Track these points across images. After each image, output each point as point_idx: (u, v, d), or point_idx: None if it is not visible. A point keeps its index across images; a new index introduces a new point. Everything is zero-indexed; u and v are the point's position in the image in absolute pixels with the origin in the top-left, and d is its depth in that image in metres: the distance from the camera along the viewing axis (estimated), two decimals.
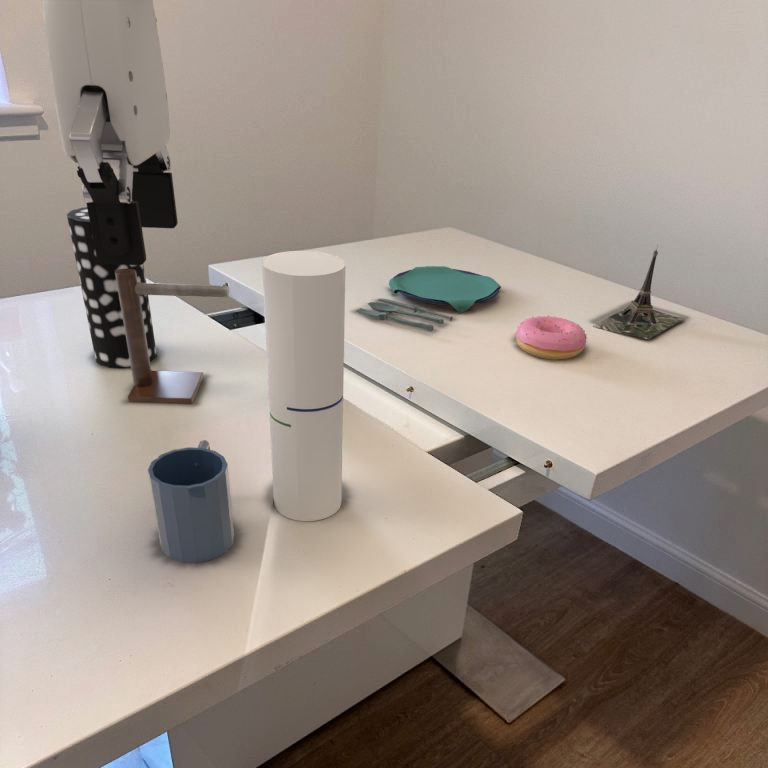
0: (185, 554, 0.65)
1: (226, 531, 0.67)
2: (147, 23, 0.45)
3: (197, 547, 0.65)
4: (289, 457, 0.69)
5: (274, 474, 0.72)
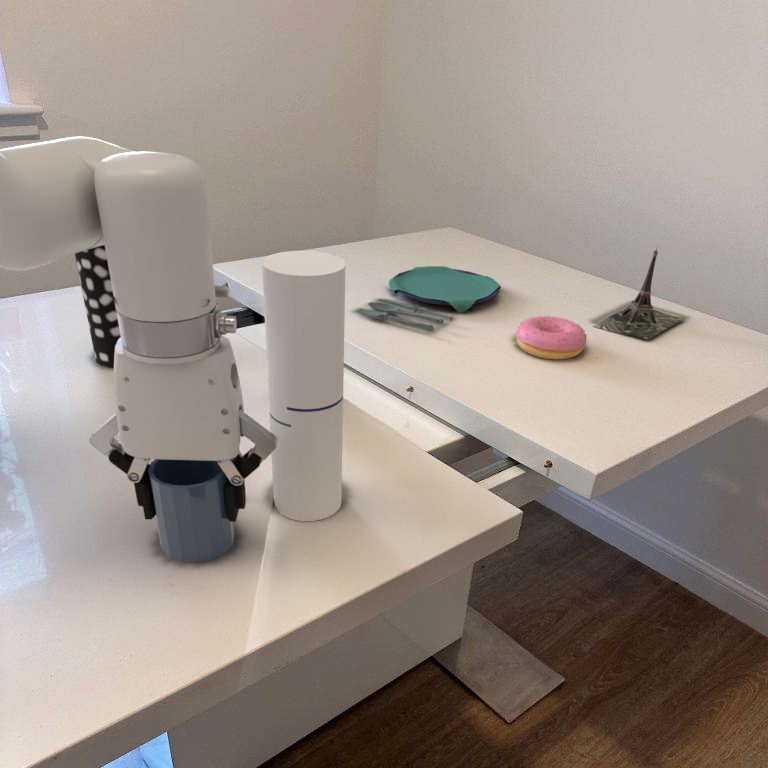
0: (185, 554, 0.65)
1: (226, 531, 0.67)
2: (166, 383, 0.56)
3: (197, 547, 0.65)
4: (289, 457, 0.69)
5: (274, 474, 0.72)
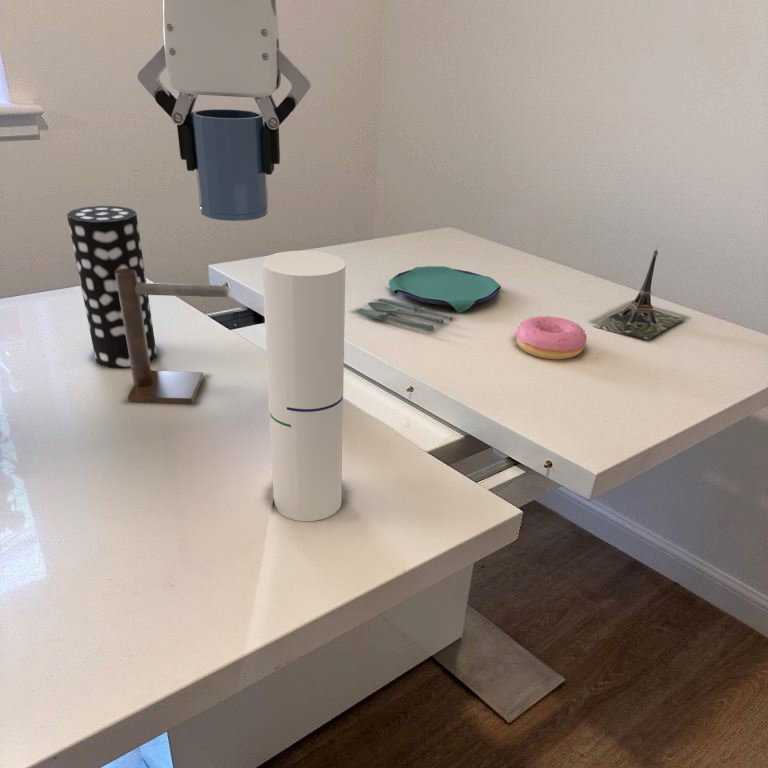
0: (224, 203, 0.70)
1: (261, 187, 0.71)
2: None
3: (235, 194, 0.70)
4: (289, 457, 0.69)
5: (274, 474, 0.72)
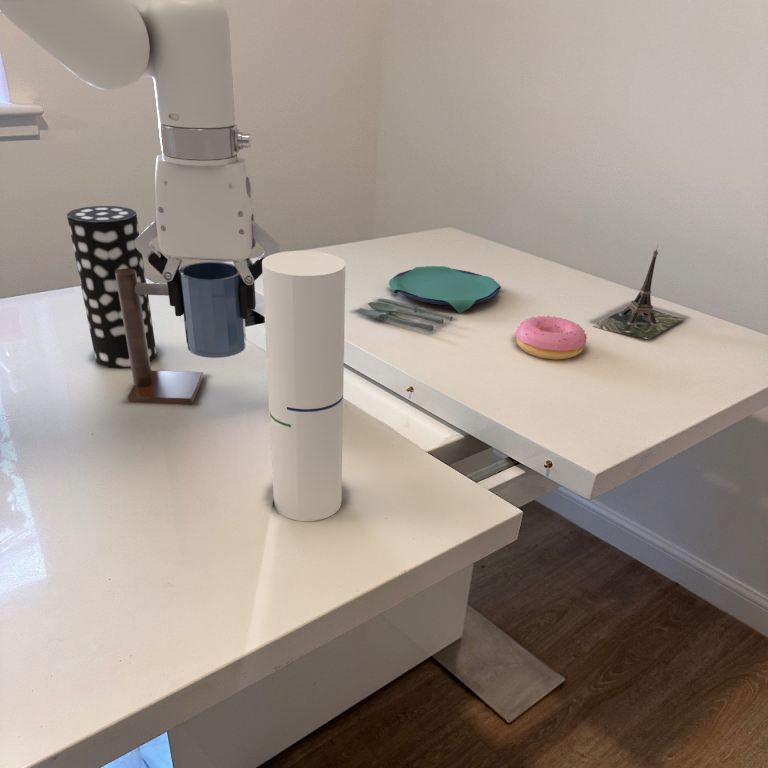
0: (207, 344, 0.82)
1: (240, 328, 0.83)
2: (196, 186, 0.73)
3: (217, 337, 0.82)
4: (289, 457, 0.69)
5: (274, 474, 0.72)
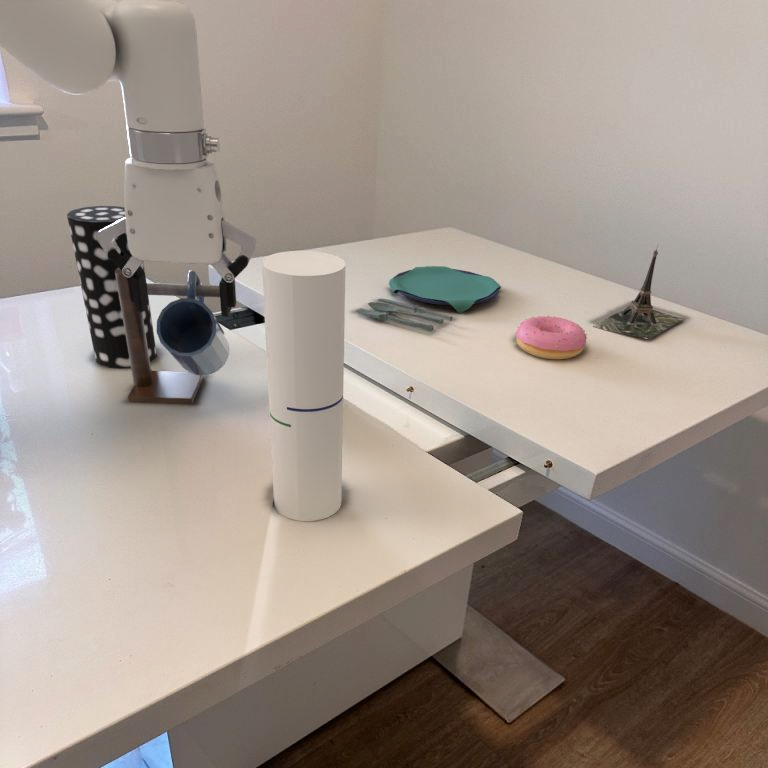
0: (195, 372, 0.90)
1: (222, 354, 0.89)
2: (164, 189, 0.73)
3: (203, 370, 0.89)
4: (289, 457, 0.69)
5: (274, 474, 0.72)
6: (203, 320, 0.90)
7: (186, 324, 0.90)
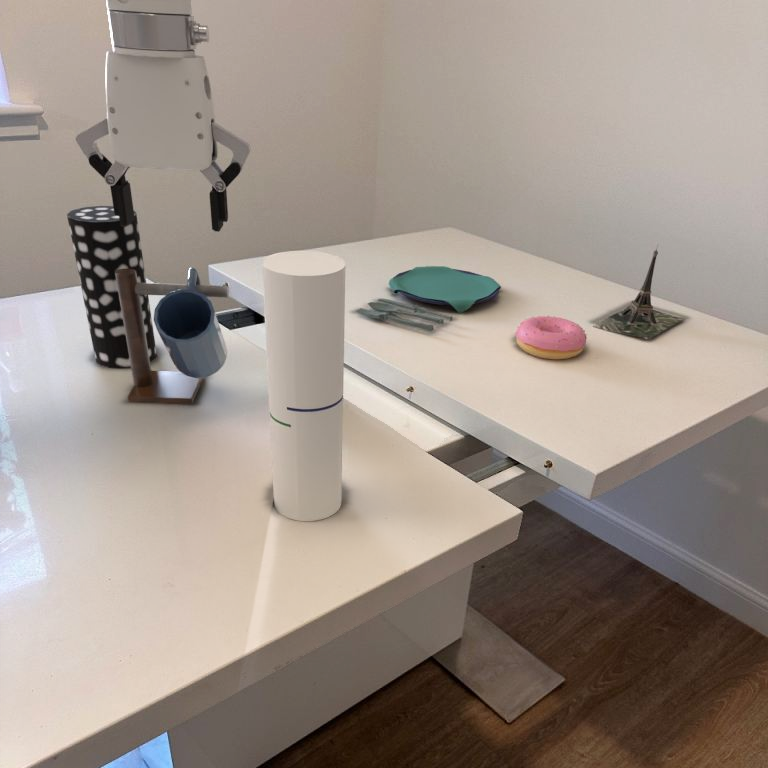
0: (191, 371, 0.88)
1: (220, 353, 0.87)
2: (149, 82, 0.68)
3: (200, 368, 0.87)
4: (289, 457, 0.69)
5: (274, 474, 0.72)
6: (202, 322, 0.89)
7: (184, 327, 0.89)
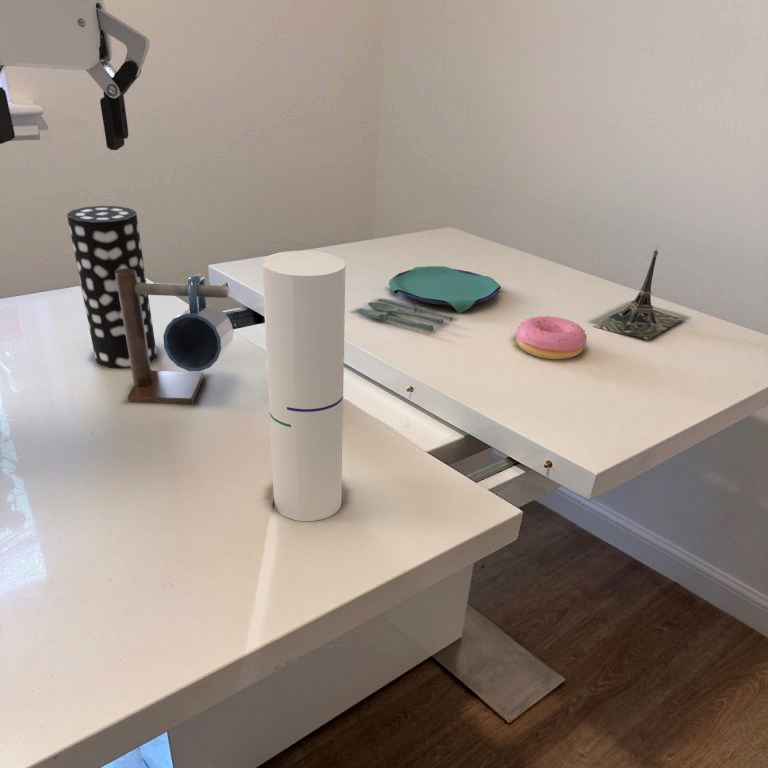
0: None
1: (227, 346, 0.92)
2: None
3: None
4: (289, 457, 0.69)
5: (274, 474, 0.72)
6: None
7: None
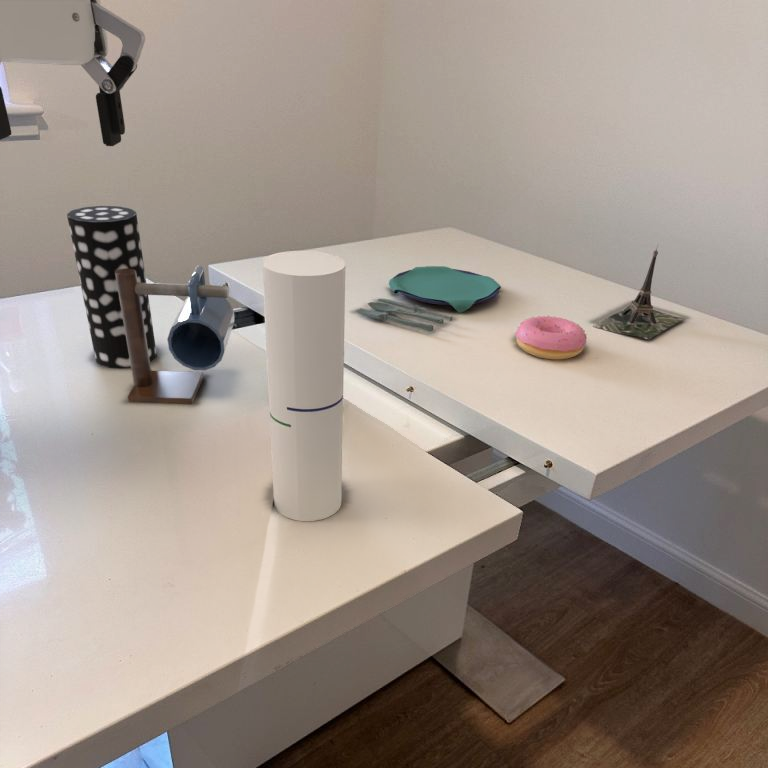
0: None
1: None
2: None
3: None
4: (289, 457, 0.69)
5: (274, 474, 0.72)
6: None
7: None
